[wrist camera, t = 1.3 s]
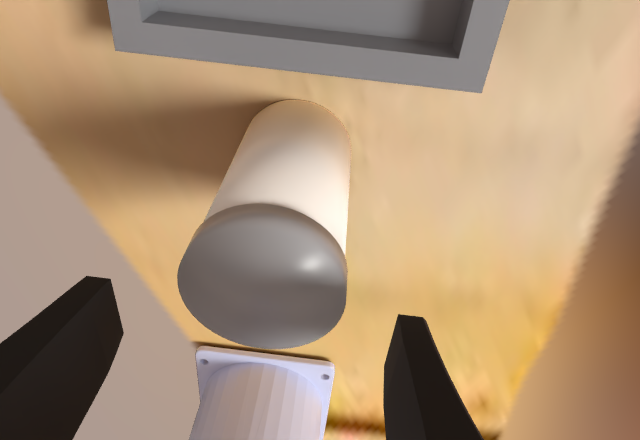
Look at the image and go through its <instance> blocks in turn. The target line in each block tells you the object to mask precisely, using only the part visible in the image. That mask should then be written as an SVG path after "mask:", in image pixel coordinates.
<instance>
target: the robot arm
mask: <svg viewBox="0 0 640 440" xmlns="http://www.w3.org/2000/svg"><path fill="white" fill-rule="evenodd" d="M122 336H123V328H122V324H121V320H120V316H119V312H118V308H117V303H116V299H115V295H114V291H113V287H112V283H111V279H106V278H99V277H91V276H86V277H85V278H83V279H82V280H81V281H80V282H78V283H77V284H76V285H74V286H73V287H72V288H71V289H70V290H68V291H67V292H65V293H64V294H63V295H62V296H60V297H59V298H58V299H57V300H56V301H54V302H53V303H52V304H51V305H49V306H48V307H47V308H45V309H44V310H43V311H42V312H40V313H39V314H38V315H37V316H35V317H34V318H33V319H32V320H30V321H29V322H28V323H26V324H25V325H24V326H23V327H21V328H20V329H19V330H17V331H16V332H15V333H13V334H12V335H11V336H10V337H8V338H7V339H6V340H4V341H3V342H2V343H1V344H0V440H72V439H73V438H74V436H75V434H76V432H77V430H78V428H79V426H80V425H81V423H82V421H83V419H84V417H85V415H86V413H87V412H88V410H89V408H90V406H91V404H92V402H93V401H94V399H95V397H96V395H97V393H98V391H99V389H100V387H101V386H102V384H103V382H104V380H105V378H106V376H107V374H108V372H109V370H110V367H111V365H112V362H113V360H114V358H115V355H116V352H117V350H118V347H119V344H120V342H121V339H122ZM195 357H196V366H197V375H198V384H199V393H200V406H199V409H198V412H197V415H196V418H195V422H194V425H193V428H192V431H191V434H190V437H189V440H323V437H324V431H325V425H326V419H327V414H328V408H329V402H330V396H331V391H332V385H333V379H334V373H335V365H334V364H333V363H331V362H329V361H323V360H315V359H307V358H299V357H291V356H283V355H275V354H267V353H259V352H251V351H243V350H235V349H227V348H219V347H211V346H200V347H198V348H197V350H196V354H195ZM383 406H384V418H385V430H386V440H484V439H483V438H482V436H481V434H480V432H479V431H478V429H477V427H476V425H475V424H474V422H473V420H472V418H471V417H470V415H469V413H468V411H467V409H466V407H465V406H464V404H463V402H462V400H461V398H460V396H459V394H458V392H457V390H456V388H455V386H454V384H453V382H452V380H451V378H450V376H449V374H448V372H447V370H446V368H445V365H444V363H443V361H442V359H441V356H440V354H439V352H438V350H437V347H436V345H435V343H434V340H433V338H432V335H431V333H430V330H429V327H428V325H427V322H426V320H425V319H424V318H423V317H416V316H408V315H399V314H398V317H397V321H396V325H395V328H394V332H393V336H392V339H391V343H390V347H389V350H388V354H387V358H386V361H385V365H384V405H383Z"/></svg>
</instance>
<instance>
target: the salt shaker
mask: <svg viewBox="0 0 640 440" xmlns="http://www.w3.org/2000/svg"><path fill="white" fill-rule="evenodd" d="M350 166H351V143H350V138H349V136H348V133H347V131H346V129H345V127H344V125H343V124H342V123H341V121H340V120H339V119H338V118H337V117H336V116H335V115H334V114H333V113H331V112H330V111H329V110H327V109H326V108H324V107H322V106H320V105H318V104H316V103H312V102H309V101H304V100H284V101H279V102H276V103H273V104H271V105H269V106H267V107H265V108H264V109H263V110H261V111H260V112H259V113H258V114H257V115H256V116H255V117H254V118H253V119H252V121H251V123H250V124H249V126H248V128H247V130H246V132H245V135H244V137H243V139H242V141H241V143H240V145H239V147H238V150H237V152H236V154H235V156H234V158H233V160H232V162H231V165H230V167H229V169H228V171H227V173H226V175H225V177H224V179H223V182H222V184H221V186H220V188H219V190H218V192H217V194H216V197H215V199H214V201H213V203H212V205H211V207H210V209H209V212H208V214H207V216H206V218H205V220H204V222H203V223H202V224H201V225H200V226H199V228H198V229H197V230H196V232H195V234H194V235H193V237H192V239H191V241H190V243H189V245H188V248H187V250H186V252H185V254H184V256H183V258H182V260H181V263H180V266H179V269H178V275H177V279H178V288H179V292H180V295H181V297H182V300H183V302H184V303H185V305H186V307H187V308H188V310H189V311H190V312H191V314H192V315H193V316H194V317H195V318H196V319H197V320H198V321H199V322H200V323H202V324H203V325H204V326H205V327H207V328H208V329H210V330H211V331H212V332H214V333H216V334H218V335H220V336H221V337H223V338H226V339H228V340H230V341H233V342H236V343H239V344H242V345H246V346H250V347H256V348H263V349H286V348H293V347H299V346H302V345H305V344H309V343H311V342H313V341H316V340H318V339H319V338H321V337H323V336H324V335H326V334H327V333H328V332H330V331H331V330H332V329H333V328H334V327H335V326H336V324H337V323H338V321H339V320H340V318H341V316H342V314H343V312H344V309H345V305H346V291H347V272H348V271H347V262H346V259H345V247H346V231H347V215H348V199H349V183H350Z"/></svg>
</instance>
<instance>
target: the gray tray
mask: <svg viewBox="0 0 640 440" xmlns="http://www.w3.org/2000/svg"><path fill="white" fill-rule="evenodd" d="M509 1H510V0H107V4H108V10H109V16H110V22H111V28H112V34H113V40H114V45H115V51H122V52H130V53H139V54H148V55H156V56H165V57H173V58H182V59H191V60H199V61H208V62H217V63H225V64H234V65H242V66H251V67H260V68H268V69H277V70H285V71H294V72H303V73H311V74H320V75H329V76H337V77H346V78H354V79H363V80H372V81H380V82H389V83H398V84H406V85H415V86H423V87H432V88H441V89H449V90H458V91H466V92H475V93H482V90H483V86H484V83H485V80H486V77H487V73H488V70H489V67H490V63H491V60H492V57H493V53H494V50H495V47H496V44H497V40H498V37H499V34H500V30H501V27H502V24H503V20H504V17H505V14H506V10H507V7H508V4H509Z"/></svg>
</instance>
